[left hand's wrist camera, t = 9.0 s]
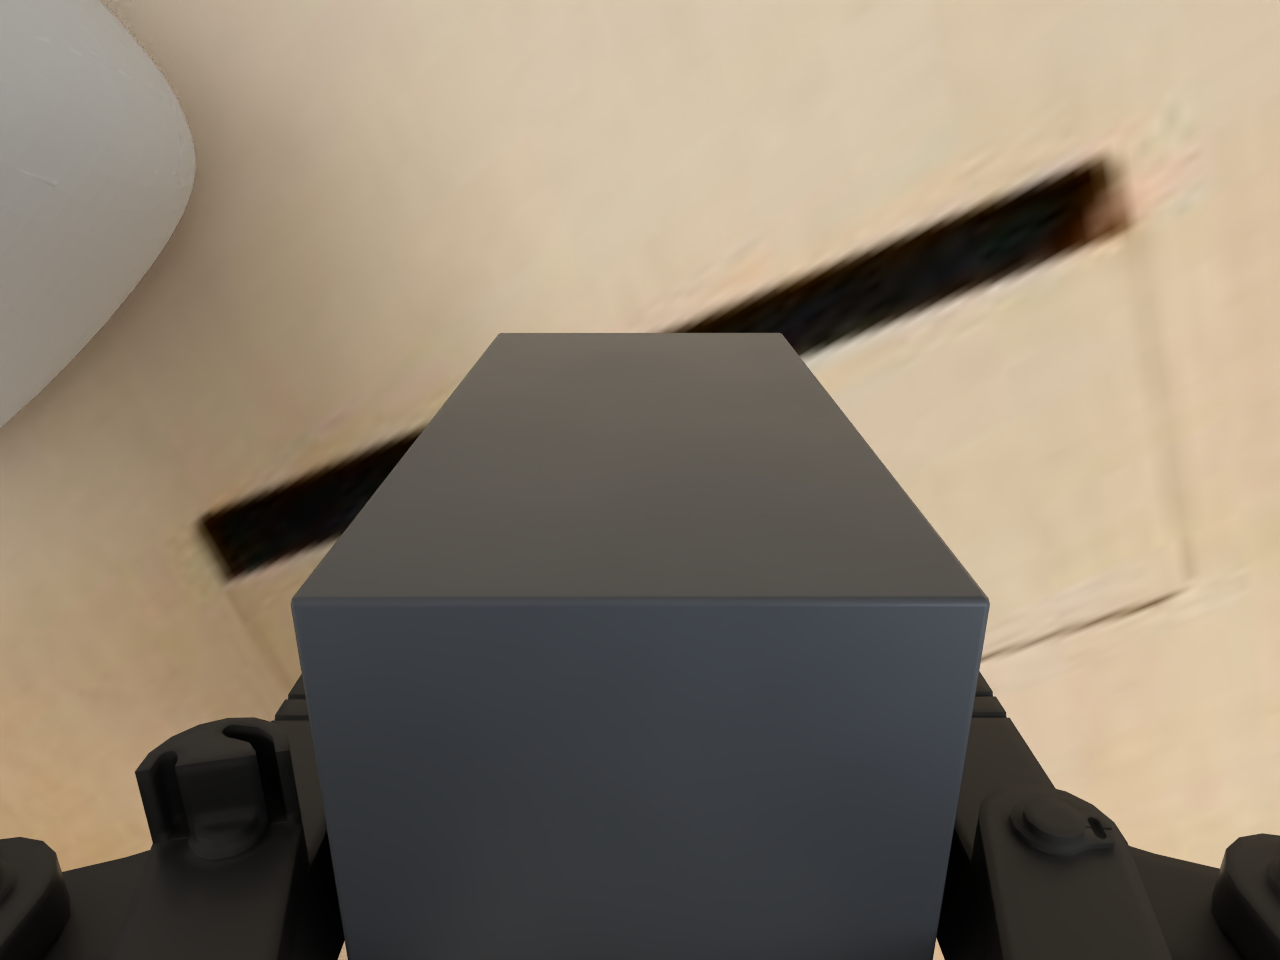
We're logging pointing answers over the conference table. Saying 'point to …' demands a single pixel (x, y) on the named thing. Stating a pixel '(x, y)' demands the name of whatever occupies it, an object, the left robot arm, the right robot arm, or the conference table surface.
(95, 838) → the conference table surface
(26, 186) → the projector
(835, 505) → the bar
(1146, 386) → the conference table surface
